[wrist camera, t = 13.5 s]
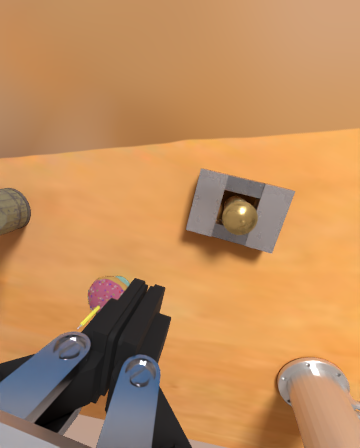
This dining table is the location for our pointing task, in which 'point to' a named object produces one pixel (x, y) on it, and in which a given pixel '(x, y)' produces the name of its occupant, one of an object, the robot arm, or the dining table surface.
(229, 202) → the brass capped cylinder
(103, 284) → the cupcake
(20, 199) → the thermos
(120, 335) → the robot arm
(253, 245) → the jig
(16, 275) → the dining table surface
